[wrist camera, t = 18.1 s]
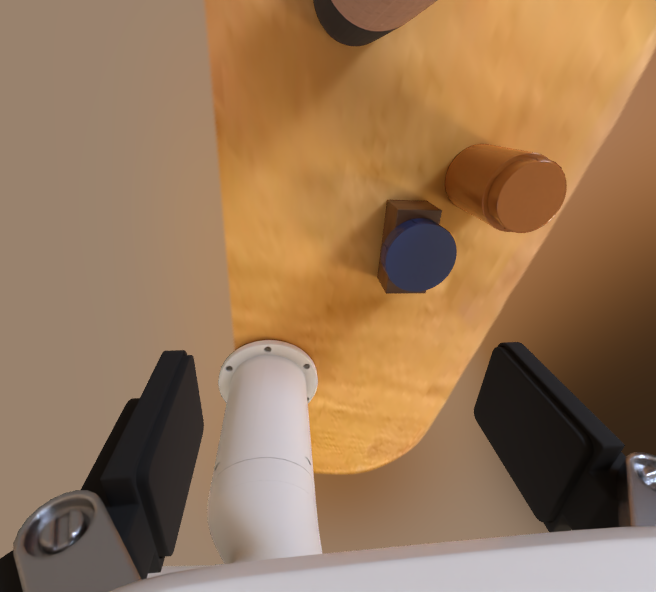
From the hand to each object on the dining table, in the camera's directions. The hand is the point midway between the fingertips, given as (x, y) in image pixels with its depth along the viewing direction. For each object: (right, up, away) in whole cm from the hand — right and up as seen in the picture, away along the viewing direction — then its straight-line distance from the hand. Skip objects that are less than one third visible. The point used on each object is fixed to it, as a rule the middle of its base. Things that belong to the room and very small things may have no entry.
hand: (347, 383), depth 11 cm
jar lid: (+8, +6, +24) cm, 26 cm away
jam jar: (+15, +15, +26) cm, 34 cm away
